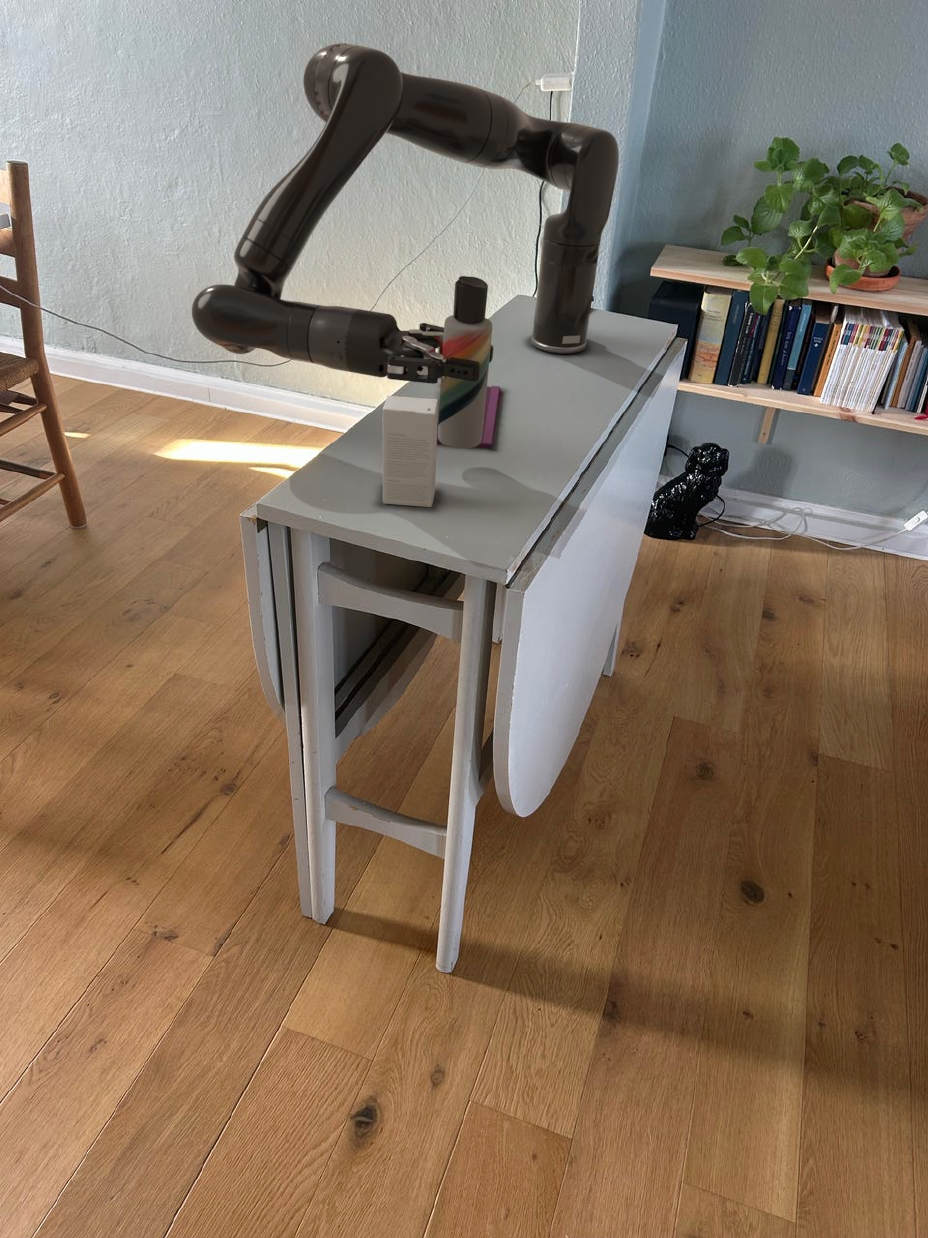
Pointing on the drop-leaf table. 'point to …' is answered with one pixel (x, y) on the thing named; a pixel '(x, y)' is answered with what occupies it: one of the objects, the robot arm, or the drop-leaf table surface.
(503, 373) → the drop-leaf table surface
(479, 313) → the lotion bottle
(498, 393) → the purple rectangular block
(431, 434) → the cosmetic box
